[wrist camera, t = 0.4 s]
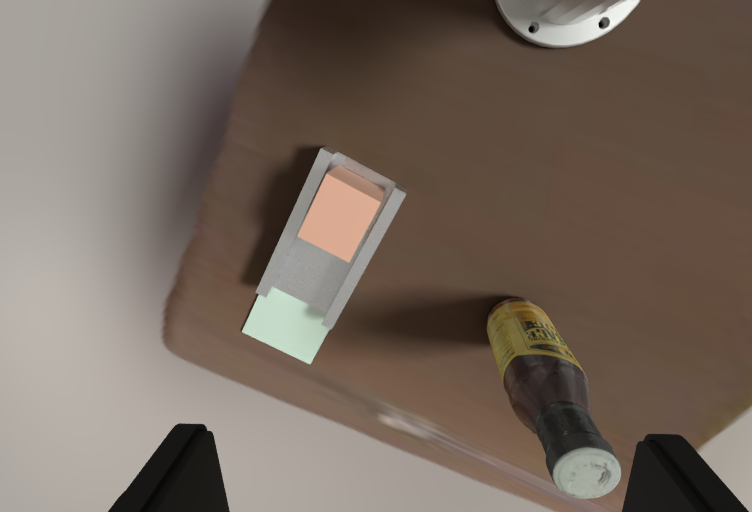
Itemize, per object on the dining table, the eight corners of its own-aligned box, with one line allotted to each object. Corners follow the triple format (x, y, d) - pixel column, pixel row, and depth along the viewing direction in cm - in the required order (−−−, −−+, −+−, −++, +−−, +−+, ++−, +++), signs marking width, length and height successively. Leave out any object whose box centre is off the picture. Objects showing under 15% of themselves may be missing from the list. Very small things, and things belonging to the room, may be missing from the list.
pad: (265, 281, 43) (264, 282, 43) (336, 316, 44) (335, 317, 44) (242, 330, 45) (241, 331, 45) (310, 363, 46) (310, 364, 46)
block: (338, 164, 38) (326, 173, 32) (385, 189, 38) (381, 202, 33) (312, 219, 40) (297, 236, 34) (357, 242, 40) (349, 262, 34)
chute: (327, 145, 38) (320, 148, 35) (406, 188, 39) (406, 193, 36) (265, 281, 43) (255, 292, 40) (336, 316, 44) (331, 329, 41)
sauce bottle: (556, 316, 42) (676, 476, 23) (515, 355, 44) (595, 533, 25) (509, 280, 41) (594, 418, 22) (469, 323, 43) (517, 482, 24)
